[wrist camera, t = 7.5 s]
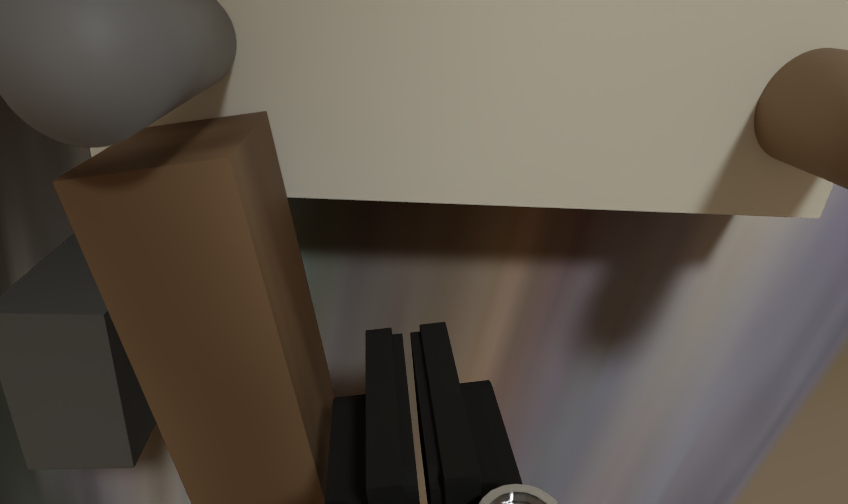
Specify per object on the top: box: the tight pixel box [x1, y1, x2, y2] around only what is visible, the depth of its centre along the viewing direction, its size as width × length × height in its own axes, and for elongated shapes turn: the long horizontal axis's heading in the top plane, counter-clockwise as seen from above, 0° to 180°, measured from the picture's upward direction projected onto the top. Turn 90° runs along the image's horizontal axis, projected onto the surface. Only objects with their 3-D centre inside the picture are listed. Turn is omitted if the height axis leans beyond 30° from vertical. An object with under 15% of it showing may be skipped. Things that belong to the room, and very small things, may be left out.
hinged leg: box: [52, 111, 335, 504], centre depth 11 cm, size 2×10×4 cm, turn 7°
